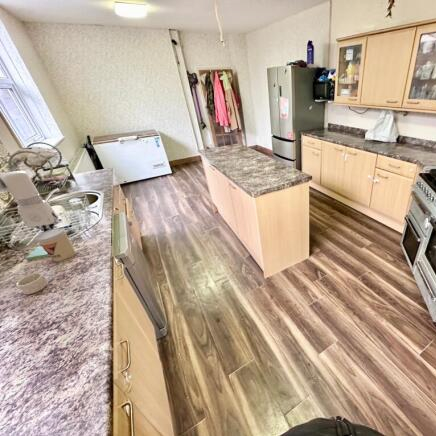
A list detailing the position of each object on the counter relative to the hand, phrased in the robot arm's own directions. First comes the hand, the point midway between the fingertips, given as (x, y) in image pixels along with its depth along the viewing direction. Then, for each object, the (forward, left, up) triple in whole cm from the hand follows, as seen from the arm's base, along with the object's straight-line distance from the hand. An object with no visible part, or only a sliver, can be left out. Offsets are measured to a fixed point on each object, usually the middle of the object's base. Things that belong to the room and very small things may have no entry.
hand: (52, 236), depth 109 cm
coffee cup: (+6, -10, -6) cm, 13 cm away
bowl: (+7, -30, -6) cm, 31 cm away
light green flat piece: (-3, -3, -6) cm, 8 cm away
